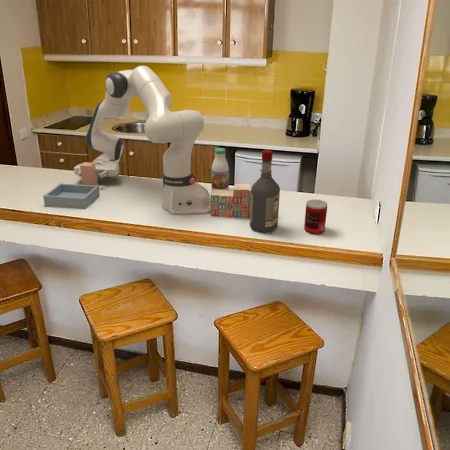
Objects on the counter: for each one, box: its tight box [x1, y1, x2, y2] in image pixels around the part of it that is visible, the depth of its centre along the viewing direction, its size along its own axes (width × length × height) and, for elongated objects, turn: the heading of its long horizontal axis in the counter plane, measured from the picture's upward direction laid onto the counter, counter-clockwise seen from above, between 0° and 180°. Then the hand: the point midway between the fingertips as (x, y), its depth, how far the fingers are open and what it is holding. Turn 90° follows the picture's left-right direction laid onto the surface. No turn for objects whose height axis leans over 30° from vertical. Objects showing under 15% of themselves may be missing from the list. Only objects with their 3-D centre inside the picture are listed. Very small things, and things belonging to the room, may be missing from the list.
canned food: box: [303, 198, 328, 235], centre depth 169 cm, size 8×8×11 cm
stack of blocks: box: [210, 183, 253, 220], centre depth 181 cm, size 21×6×12 cm, turn 82°
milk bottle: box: [211, 147, 230, 192], centre depth 201 cm, size 8×8×20 cm
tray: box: [42, 183, 101, 210], centre depth 195 cm, size 18×15×4 cm
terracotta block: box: [80, 161, 99, 186], centre depth 205 cm, size 5×5×12 cm
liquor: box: [249, 149, 281, 234], centre depth 166 cm, size 9×9×30 cm
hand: (89, 175), depth 205 cm, fingers open, 8 cm apart
